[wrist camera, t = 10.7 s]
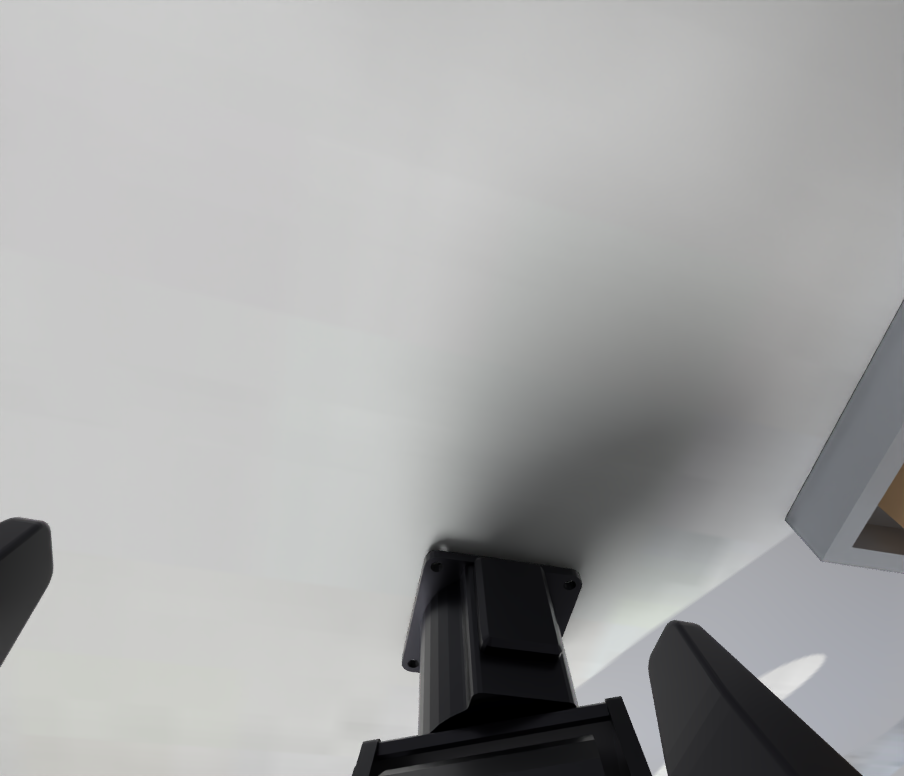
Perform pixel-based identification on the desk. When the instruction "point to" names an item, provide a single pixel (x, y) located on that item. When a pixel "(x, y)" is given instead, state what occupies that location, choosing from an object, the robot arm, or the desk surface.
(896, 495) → the walnut block
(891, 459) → the slot tray
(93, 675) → the desk surface
